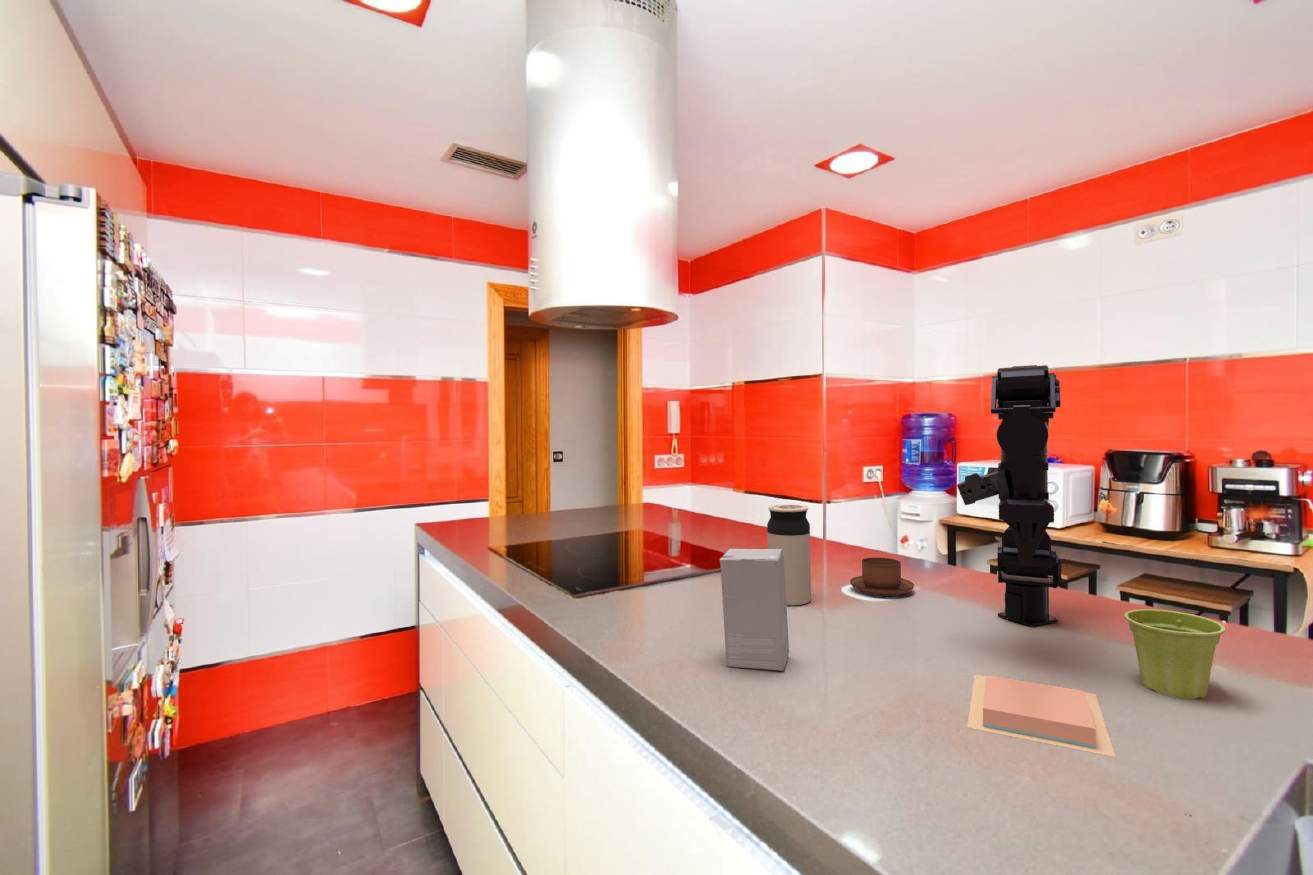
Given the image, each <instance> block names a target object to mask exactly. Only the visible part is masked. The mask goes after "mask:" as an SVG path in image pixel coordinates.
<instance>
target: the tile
mask: <svg viewBox="0 0 1313 875" xmlns="http://www.w3.org/2000/svg"><path fill="white" fill-rule="evenodd" d="M985 676H986V681H985V691H984V702H983V726H984V727H989V728H994V729H999V730H1004V731H1009V732H1014V733H1019V734H1024V735H1029V736H1034V737H1039V738H1044V739H1049V740H1054V741H1060V742H1065V743H1070V744H1075V745H1080V746H1085V747H1090V748H1095V749H1096V735H1095V726H1094V722H1093V718H1092V715H1091V711H1090V708H1089V704H1088V700H1087V697H1086V693H1087V692H1086V691H1085V690H1080V689H1073V688H1067V687H1061V686H1056V685H1050V684H1049V685H1048V684H1043V683H1038V682H1031V681H1026V680H1025V681H1023V680H1017V679H1011V678H1007V677H1006V678H1005V677H1001V676H1000V677H999V676H993V675H988V674H987V675H985Z"/></svg>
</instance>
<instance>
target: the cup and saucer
mask: <svg viewBox="0 0 1313 875" xmlns="http://www.w3.org/2000/svg"><path fill="white" fill-rule="evenodd" d="M861 570H862V571H861V572H862V573H861V574H862V575H859V576H855V577H852V578H851V579H850V580H849V582H850V585H851V586H852V587H853V588H854V589H855V590H858V591H859V592H862V593H865V594H868V595H873V596H874V595H875V596H882V597H883V596H884V597H886V596H889V597H891V596H892V597H893V596H900V595H904V594H908V593H910V592H912V590H913V589H914V587H915V584H914V582H912V581H911V580H909V579H905V578H902V577H901V576H902V563H901V561H900V560H898V559H895V558H889V557H865V558H863V559H862V560H861Z"/></svg>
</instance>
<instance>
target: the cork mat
mask: <svg viewBox="0 0 1313 875" xmlns="http://www.w3.org/2000/svg"><path fill="white" fill-rule="evenodd" d="M985 681H986V675H979V674H974V677H973V685H972V690H971V698H970V705H969V713H968V719H967V720H968V721H967V727H966V728H967V729H972V730H977V731H982V732H987V733H991V734H997V735H1001V736H1006V737H1007V736H1008V737H1012V738H1016V739H1022V740H1027V741H1032V742H1036V743H1041V744H1042V743H1043V744H1047V745H1051V746H1055V747H1060V748H1065V749H1066V748H1067V749H1070V750H1071V749H1072V750H1077V751H1082V752H1085V753H1090V754H1091V753H1092V754H1097V755H1100V756H1101V755H1102V756H1107V757H1112V758H1116V754H1115V751H1114V748H1113V745H1112V744H1113V743H1112V742H1111V738H1110V735H1109V733H1108V729H1107V725H1106V722H1105V719H1104V715H1103V713H1102V710H1101V706H1100V704H1099V699H1098V698H1097V694H1096V693H1091V692H1090V693H1089V692H1085V693H1086V697H1087V700H1088V704H1089V708H1090V711H1091V715H1092V718H1093V722H1094V726H1095V735H1096V749H1095V748H1090V747H1085V746H1080V745H1075V744H1070V743H1065V742H1060V741H1054V740H1049V739H1044V738H1039V737H1034V736H1029V735H1024V734H1019V733H1014V732H1009V731H1004V730H999V729H994V728H989V727H984V726H983V702H984V691H985Z"/></svg>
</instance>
